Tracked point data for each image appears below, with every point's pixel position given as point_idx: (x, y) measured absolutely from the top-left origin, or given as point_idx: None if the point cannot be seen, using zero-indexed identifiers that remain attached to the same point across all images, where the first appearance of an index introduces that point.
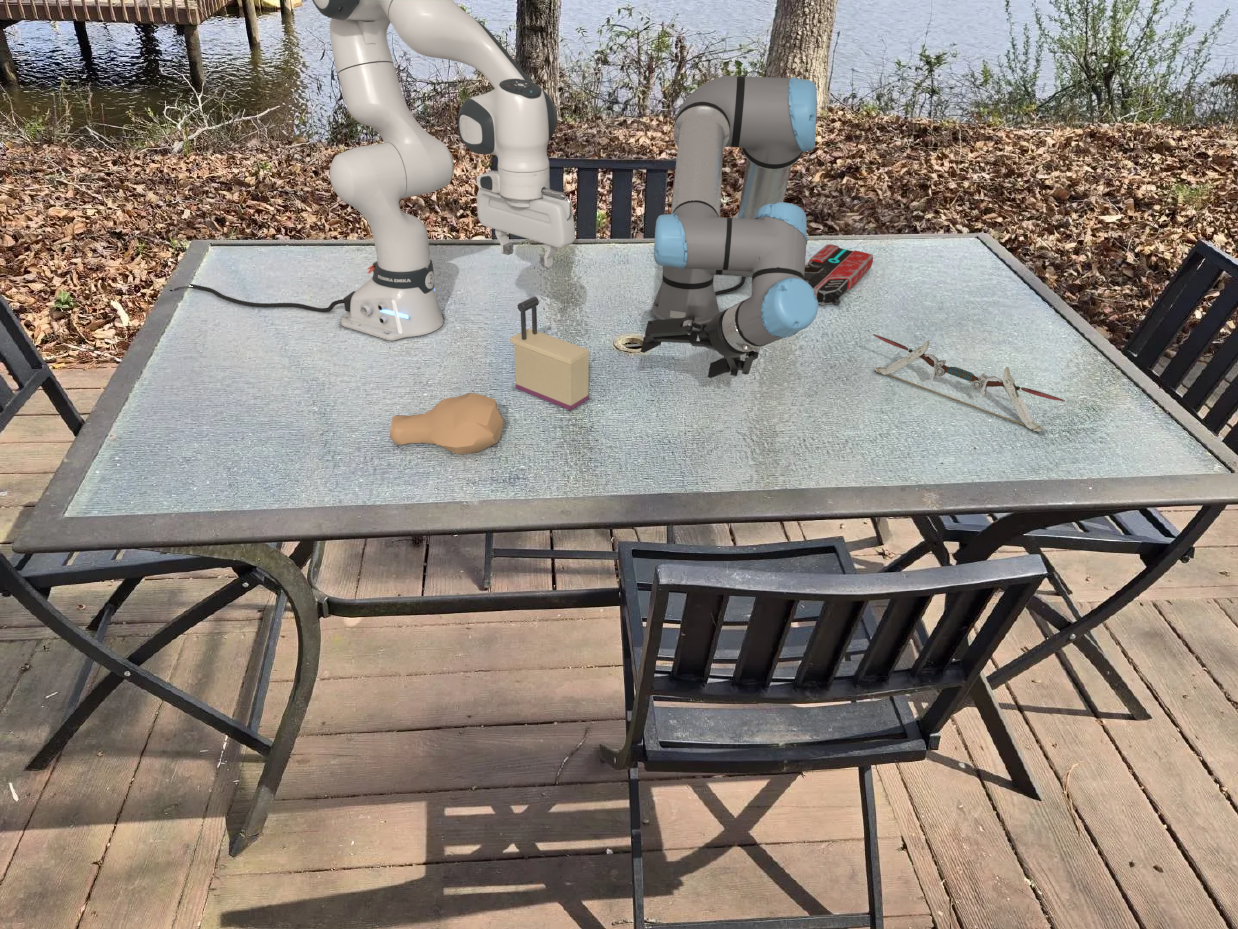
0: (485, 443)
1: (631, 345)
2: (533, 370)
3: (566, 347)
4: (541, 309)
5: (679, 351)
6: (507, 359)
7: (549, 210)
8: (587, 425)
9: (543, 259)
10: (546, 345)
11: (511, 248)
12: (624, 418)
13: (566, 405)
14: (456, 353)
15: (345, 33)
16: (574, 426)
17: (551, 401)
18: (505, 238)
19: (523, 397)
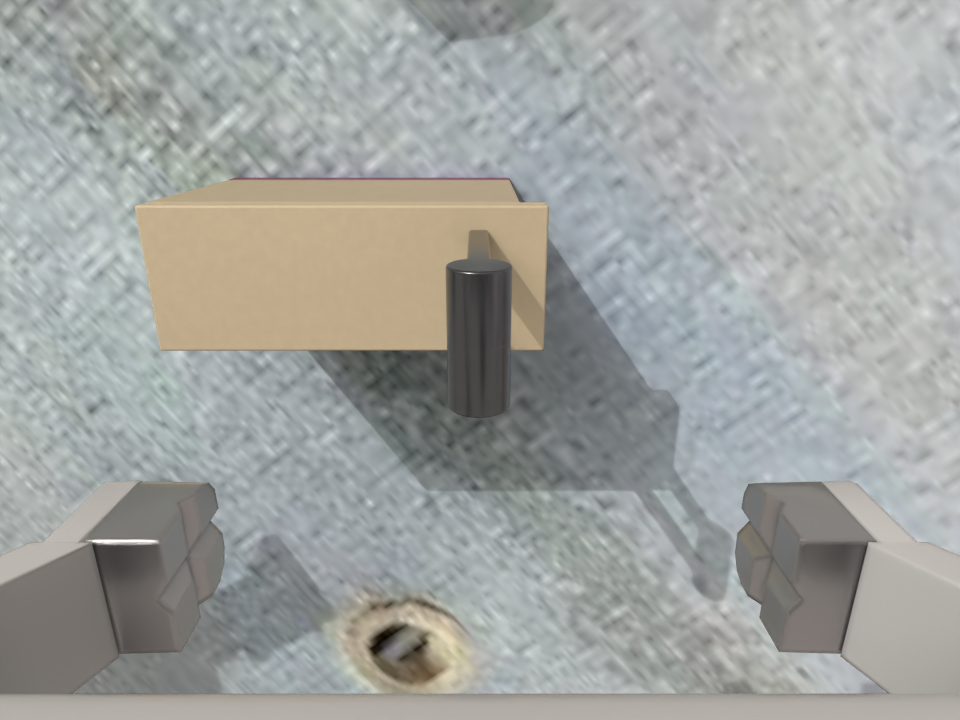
0: None
1: (404, 642)
2: (404, 189)
3: (252, 301)
4: (809, 667)
5: (265, 690)
6: (683, 331)
7: None
8: (113, 130)
9: (109, 523)
10: (340, 256)
11: (765, 585)
12: (63, 256)
13: (252, 179)
14: (885, 246)
15: None
16: (139, 91)
17: (328, 178)
18: (926, 665)
19: (438, 140)
